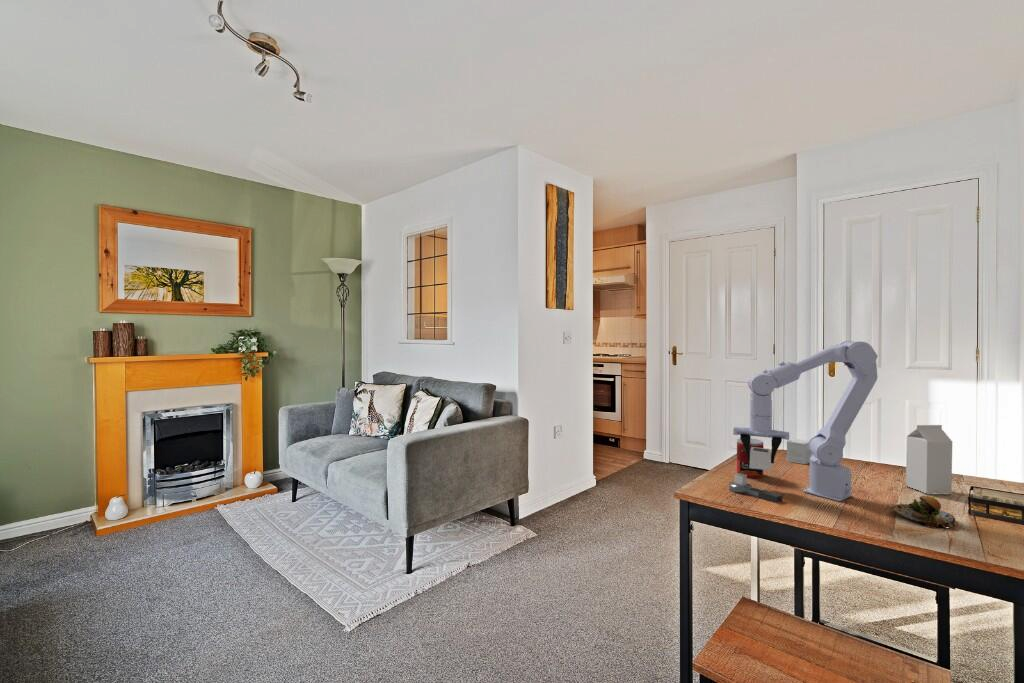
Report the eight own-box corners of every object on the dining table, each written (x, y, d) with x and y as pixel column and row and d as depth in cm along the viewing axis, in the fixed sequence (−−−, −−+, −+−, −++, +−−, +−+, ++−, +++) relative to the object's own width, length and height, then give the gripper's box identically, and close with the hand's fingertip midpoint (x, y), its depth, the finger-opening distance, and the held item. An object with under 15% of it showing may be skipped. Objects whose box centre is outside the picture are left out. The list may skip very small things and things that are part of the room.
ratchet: (724, 489, 139) (725, 474, 139) (736, 485, 142) (736, 470, 142) (773, 504, 127) (774, 486, 127) (785, 499, 131) (785, 482, 131)
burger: (892, 507, 126) (893, 479, 126) (953, 518, 118) (954, 488, 118) (892, 521, 116) (892, 491, 116) (957, 534, 109) (958, 502, 109)
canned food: (738, 477, 151) (739, 442, 150) (734, 470, 158) (735, 437, 158) (765, 479, 148) (766, 444, 148) (760, 472, 156) (760, 438, 156)
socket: (771, 466, 141) (771, 449, 141) (770, 470, 137) (771, 453, 136) (750, 463, 144) (751, 446, 144) (749, 467, 139) (750, 450, 139)
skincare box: (811, 461, 168) (811, 441, 168) (805, 464, 164) (805, 443, 164) (792, 458, 173) (793, 438, 172) (786, 461, 169) (786, 440, 169)
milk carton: (951, 494, 134) (953, 427, 134) (926, 495, 134) (927, 427, 134) (929, 486, 141) (930, 422, 141) (905, 486, 141) (906, 422, 141)
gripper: (732, 415, 140) (732, 461, 141) (789, 419, 133) (789, 468, 133) (734, 411, 146) (734, 455, 147) (789, 415, 139) (789, 461, 139)
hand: (760, 461), depth 140 cm, fingers closed on socket, 5 cm apart
